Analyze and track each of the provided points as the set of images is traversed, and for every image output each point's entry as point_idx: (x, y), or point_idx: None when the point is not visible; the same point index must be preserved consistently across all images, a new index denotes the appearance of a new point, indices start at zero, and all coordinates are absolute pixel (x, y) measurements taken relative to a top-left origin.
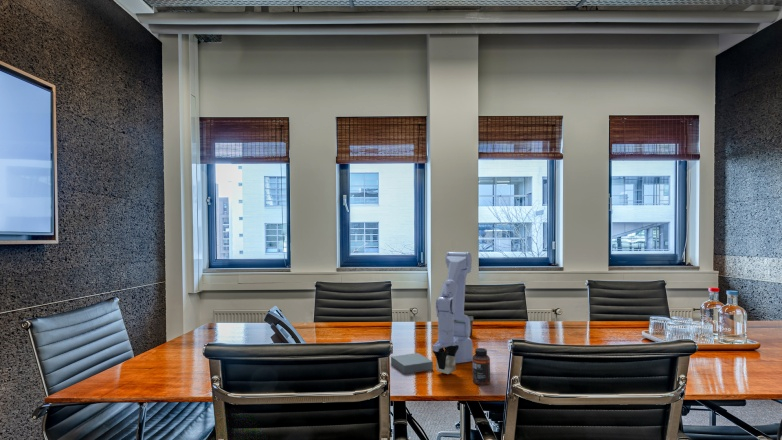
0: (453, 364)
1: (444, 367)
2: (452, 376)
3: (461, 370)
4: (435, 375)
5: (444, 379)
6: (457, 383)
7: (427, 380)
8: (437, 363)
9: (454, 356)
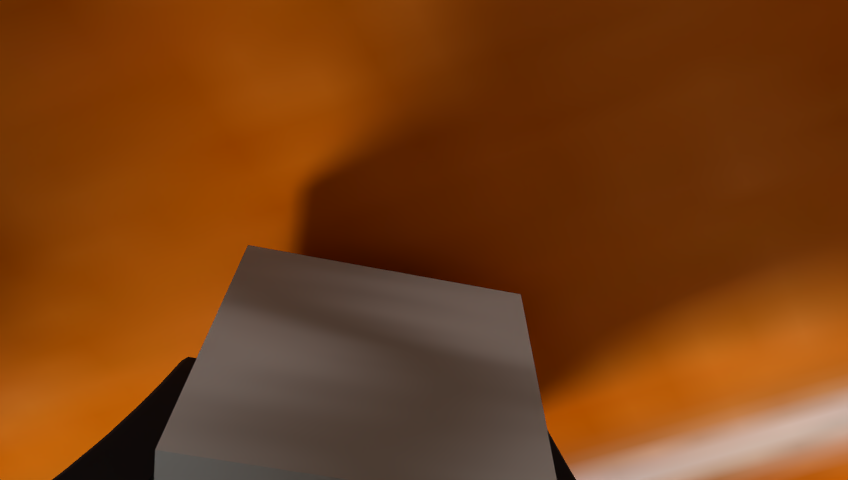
0: (296, 342)
1: None
2: (427, 213)
3: (13, 172)
4: None
5: (638, 280)
6: (768, 8)
7: (775, 462)
8: None
9: (86, 474)
